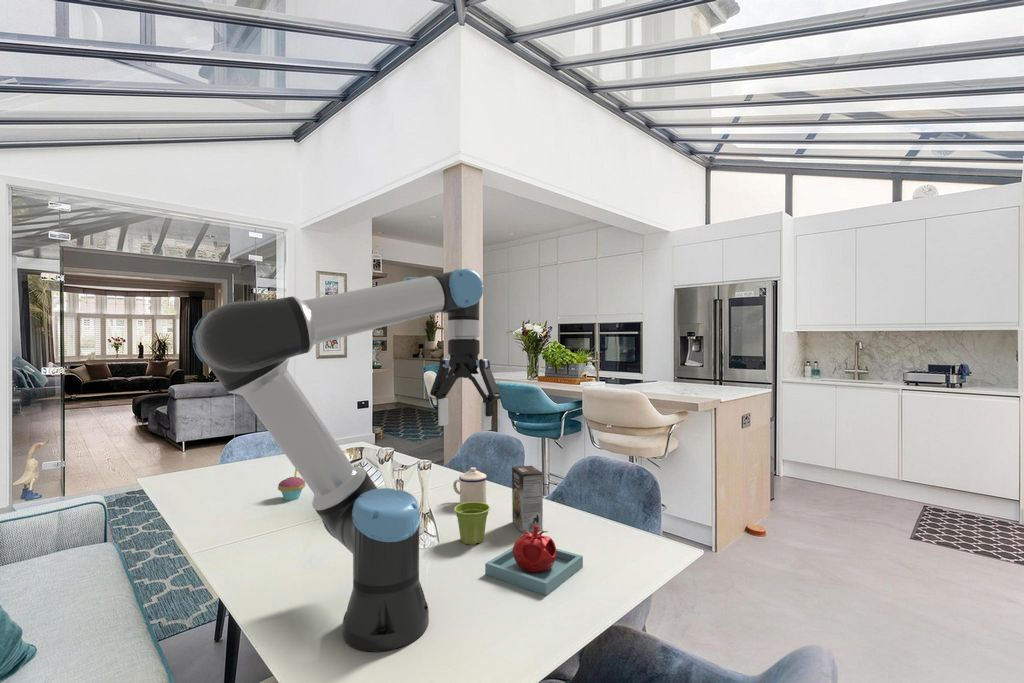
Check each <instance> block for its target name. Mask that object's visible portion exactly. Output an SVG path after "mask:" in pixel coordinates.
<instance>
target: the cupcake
mask: <svg viewBox="0 0 1024 683" xmlns="http://www.w3.org/2000/svg"><path fill="white" fill-rule="evenodd" d="M294 469H295V470H294V475H293V476H289V477H287V478H285V479H283V480H281V481H280V482H279V483H278V485H277V491H280V493H281V494H282V497H283V500H285V501H295V500H298V499H300V498H301V494H302V491H303V489H304V488H305V487H306V482H305V481H304V479H303V478H302V477H299V476H297V474H298V471H297V470H296V468H295V467H294Z"/></svg>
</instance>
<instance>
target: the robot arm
mask: <svg viewBox="0 0 1024 683" xmlns="http://www.w3.org/2000/svg"><path fill="white" fill-rule="evenodd" d="M483 284H484V283H483V281H482V278H481V277H480V275H479V274H478V273H477V272H476V270H475V271H474V270H472V269H470V268H459V269H458V268H457V269H455V270H453V271H446V272H442V273H437V274H434V275H427V276H426V275H425V276H422V277H419V276H415V277H412V276H409V277H405V278H403V279H402V281H397V282H392V283H386V284H382V285H376V286H371V287H365V288H360V289H356V290H350V291H347V292H346V291H345V292H340V293H335V294H330V295H325V296H320V297H315V298H314V297H313V298H310V299H309V298H308V299H304V300H301V299H299V298H298V297H296V296H292V295H291V296H288V297H287V296H286V297H281V298H274V299H264V300H263V299H262V300H244V301H243V300H242V301H233V302H230V303H229V302H228V303H224V304H222V305H221V306H219V307H217V308H215V309H214V308H213V309H212V310H210V311H209V312H208V311H207V312H206V313H205V314H204V315H203V316H202V317H201V318H200V319H199V320H198V322H197V324H196V325H195V326H194V329H193V333H192V334H193V335H192V346H193V350H194V352H195V355H196V356H197V358H198V359H199V360H200V362H202V363H203V364H205V365H206V366H208V367H209V369H210V370H211V372H212V373H213V374H214V376H215V377H216V378H217V379H218V381H219V382H220V383H221V385H222V387H223V388H224V389H225V390H226V392H227V393H229V394H234V395H240V396H241V397H243V398H244V400H245V401H246V403H247V404H248V405H249V406H250V409H251V410H252V411H253V413H255V415H256V416H257V418H258V419H259V420H260V422H261V423H262V424H263V426H264V427H265V429H266V430H267V431H268V433H269V434H270V436H271V437H272V438H273V440H274V441H275V442H276V444H277V445H278V447H280V450H282V452H283V453H284V455H285V457H287V459H288V460H289V462H290V463H291V465H292V466H293V467H294V469H295V468H296V470H297V473H298V474H299V475H300V476H301V477H300V478H301V479H303V480H304V481H305V484H306V485H307V486H308V488H309V489H310V490H311V492H312V493H313V498H312V502H311V506H312V508H313V509H314V511H316V514H318V516H319V517H320V518H321V521H322V523H323V526H324V529H325V530H326V531H327V533H328V534H329V535H330V536H331V537H333V538H334V539H336V540H337V541H338V542H339V543H340V544H341V545H342V546H344V547H345V548H346V549H347V551H349V552H350V553H352V575H353V576H352V578H353V580H352V584H353V585H352V591H351V593H350V597H349V601H348V604H347V608H346V611H345V613H344V615H343V619H342V638H343V640H344V642H345V643H346V644H348V645H349V646H350V647H352V648H354V649H357V650H360V651H366V652H383V651H385V652H386V651H391V650H395V649H398V648H401V647H404V646H406V645H409V644H411V643H412V642H414V641H416V640H417V639H419V638H420V637H421V636H422V635H423V634H424V633H425V631H426V630H427V628H428V626H429V624H430V622H429V621H430V619H429V617H430V616H429V614H430V613H429V612H430V610H429V605H428V602H427V601H426V600H427V599H426V597H425V593H424V590H423V587H422V585H421V584H422V583H421V581H420V524H421V516H420V512H419V511H420V510H419V509H420V508H419V504H418V500H417V499H416V497H415V496H414V495H413V494H411V492H410V493H409V492H408V491H405V490H402V489H395V488H390V487H385V488H378V487H377V485H376V484H375V483H374V481H373V479H372V478H371V477H370V474H368V472H367V471H366V469H365V468H364V467H361V466H353V464H352V463H351V462H350V460H349V458H348V457H347V456H346V454H345V453H344V451H343V450H342V448H341V447H340V445H339V444H338V442H337V441H336V439H335V438H334V436H333V434H332V433H331V432H330V431H329V429H328V428H327V425H325V423H324V422H323V420H322V419H321V417H320V416H319V415H318V413H317V412H316V410H315V408H314V406H313V405H312V404H311V403H310V401H309V399H308V398H307V397H306V395H305V394H304V392H303V391H302V389H301V388H300V386H299V385H298V384H297V382H296V380H295V379H294V378H293V376H292V375H291V373H290V371H289V370H288V365H289V361H290V358H293V357H296V356H300V355H304V354H308V353H310V352H311V351H312V349H313V347H314V346H315V345H317V344H321V343H326V342H329V341H334V340H337V339H340V338H345V337H349V336H352V335H356V334H361V333H365V332H369V331H373V330H375V329H376V330H377V329H380V328H385V327H388V326H391V325H396V324H401V323H404V322H408V321H411V320H415V319H419V318H424V317H427V316H431V315H435V314H438V313H439V314H440V313H443V314H447V323H448V324H447V337H448V338H450V339H448V341H447V354H448V355H449V357H450V358H440V359H439V365H438V366H439V367H438V370H437V373H436V376H435V378H434V380H433V384H432V387H431V389H430V393H429V394H430V395H431V396H433V397H435V399H436V411H437V412H438V414H437V416H438V418H437V419H438V420H437V421H438V426H439V427H444V426H447V425H449V398H448V396H447V395H448V394H449V392H450V391H451V389H452V387H453V386H454V384H456V382H457V380H458V379H459V378H463V379H468V380H470V381H471V383H472V384H473V385H474V387H475V389H476V391H478V393H479V394H480V397H481V398H482V402H481V406H480V409H481V410H480V411H481V413H480V414H481V417H480V421H481V423H480V424H481V427H480V429H481V432H487V431H492V417H493V416H494V402H495V401H497V400H500V399H501V398H502V395H501V393H500V389H499V388H498V385H497V382H496V379H495V378H494V377H495V376H494V374H493V373H492V370H491V365H490V364H491V363H490V359H489V358H480V359H479V357H478V356H479V354H480V348H481V346H480V342H481V341H480V340H479V339H478V338H479V337H480V301H481V298H482V296H483V294H484V285H483ZM438 426H437V427H438Z"/></svg>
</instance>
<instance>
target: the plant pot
mask: <svg viewBox="0 0 1024 683" xmlns="http://www.w3.org/2000/svg"><path fill="white" fill-rule="evenodd" d="M453 509H454V512H455V515H456V518H457V524H458V529H459V537H460V542H462V543H463V544H465V545H471V546H472V545H475V544H478V543H479V544H481V543H482V542H484V540H485V534H486V533H485V532H486V526H487V519H488V518H487V517H488V515H489V511H490V510H491V506H490V505H489V504H487V503H486V504H485V503H481V502H467V503H462V504H460V503H458V504H457V505H455V507H454V508H453Z"/></svg>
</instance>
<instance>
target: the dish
mask: <svg viewBox="0 0 1024 683" xmlns="http://www.w3.org/2000/svg"><path fill="white" fill-rule="evenodd" d="M512 550H513V547H511V548H509V549H507V550H506V551H504V552H503V553H501V554H499V555H497V556H495V557H494V558H492V559H490V560H488V561H487V562H485V565H484V566H485V568H484V569H485V572H484V574H485V575H486V576H487V577H491V578H494V579H497V580H500V581H503V582H505V583H509V584H512V585H514V586H517V587H520V588H523V589H526V590H529V591H531V592H534V593H537V594H540V595H543V596H546V597H547V596H548V595H550V594H551V593H552V592H553V591H554V590H555V589H557V588H559V586H561V585H562V584H563V583H564V582H566V580H568V579H569V578H571V577H572V576H573V575H574V574H576V573H577V572H578V571H580V570H581V569H582V568H583V567H584V556H583V555H581V554H577V553H573V552H570V551H566V550H562V549H558V548H556V559H555V562H554V564H553V566H552V567H551V568H550V569H549V570H547V571H542V572H539V573H529V572H526V571H524V570H522V569H521V568H520V567H519V566H518V565H517V563H516V561H515V559H514V556H513V551H512Z"/></svg>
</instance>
